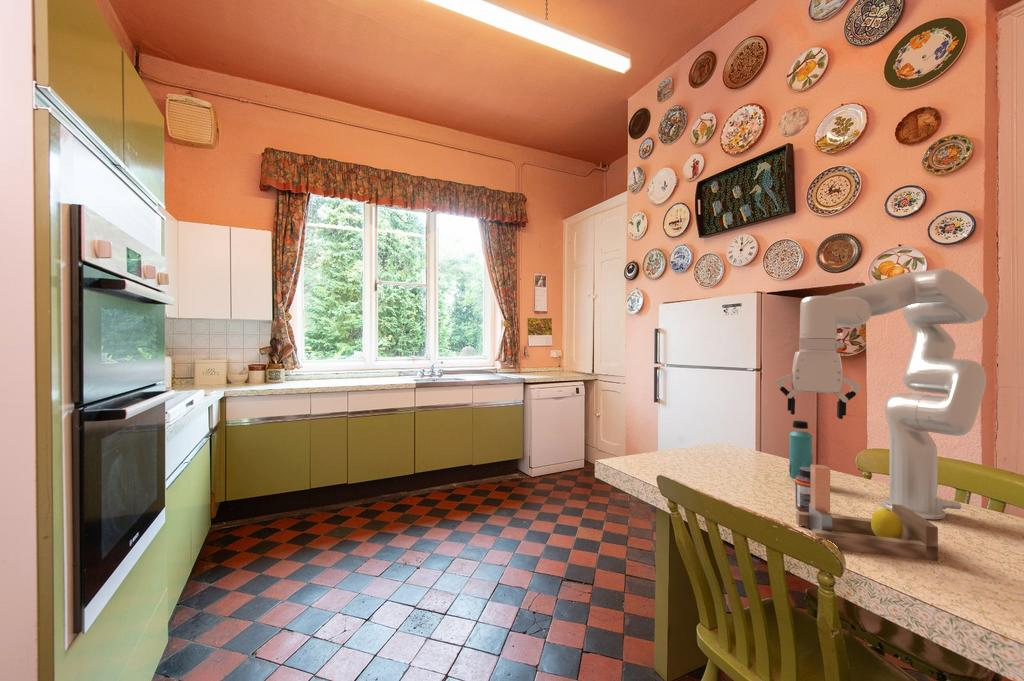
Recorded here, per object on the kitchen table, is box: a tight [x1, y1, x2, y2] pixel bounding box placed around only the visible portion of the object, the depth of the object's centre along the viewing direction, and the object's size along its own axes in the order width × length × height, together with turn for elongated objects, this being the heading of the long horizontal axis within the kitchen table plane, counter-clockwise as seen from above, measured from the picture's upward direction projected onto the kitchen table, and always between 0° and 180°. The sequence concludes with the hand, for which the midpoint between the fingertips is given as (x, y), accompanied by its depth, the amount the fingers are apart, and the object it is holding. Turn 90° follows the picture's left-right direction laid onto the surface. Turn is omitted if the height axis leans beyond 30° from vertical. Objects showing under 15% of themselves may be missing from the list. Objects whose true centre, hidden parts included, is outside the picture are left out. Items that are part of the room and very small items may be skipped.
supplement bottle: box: [794, 467, 811, 512], centre depth 118 cm, size 6×6×11 cm
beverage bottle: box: [788, 420, 814, 480], centre depth 141 cm, size 6×7×20 cm
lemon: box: [870, 507, 903, 539], centre depth 99 cm, size 6×6×8 cm
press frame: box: [795, 504, 939, 562], centre depth 100 cm, size 22×13×7 cm, turn 73°
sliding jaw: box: [808, 463, 833, 532], centre depth 103 cm, size 3×8×16 cm, turn 163°
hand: (815, 416), depth 107 cm, fingers open, 9 cm apart
